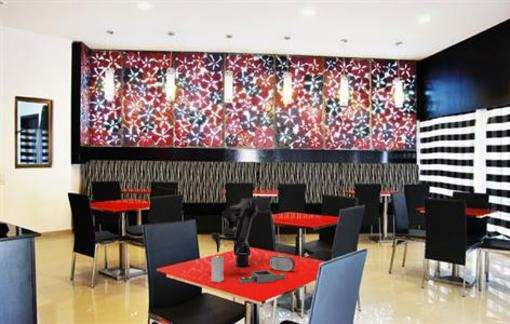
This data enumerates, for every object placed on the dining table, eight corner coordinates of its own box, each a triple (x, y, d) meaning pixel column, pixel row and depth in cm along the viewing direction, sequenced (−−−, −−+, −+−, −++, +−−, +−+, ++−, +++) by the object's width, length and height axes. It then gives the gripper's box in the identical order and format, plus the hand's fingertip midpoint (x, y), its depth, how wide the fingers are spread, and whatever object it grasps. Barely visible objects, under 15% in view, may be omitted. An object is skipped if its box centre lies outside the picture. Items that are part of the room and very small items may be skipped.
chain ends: (237, 279, 228) (237, 272, 228) (280, 275, 236) (280, 269, 236) (243, 284, 219) (243, 277, 219) (287, 280, 228) (287, 273, 228)
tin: (295, 271, 245) (295, 256, 245) (293, 272, 242) (293, 257, 242) (270, 268, 252) (270, 253, 252) (268, 270, 249) (268, 255, 249)
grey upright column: (215, 279, 229) (215, 254, 229) (223, 280, 228) (223, 255, 228) (211, 281, 225) (211, 256, 225) (219, 282, 224) (219, 257, 224)
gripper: (212, 218, 239) (205, 245, 231) (246, 222, 235) (240, 250, 227) (216, 227, 248) (210, 253, 240) (249, 231, 245) (243, 258, 236)
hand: (225, 253), depth 236 cm, fingers open, 9 cm apart
